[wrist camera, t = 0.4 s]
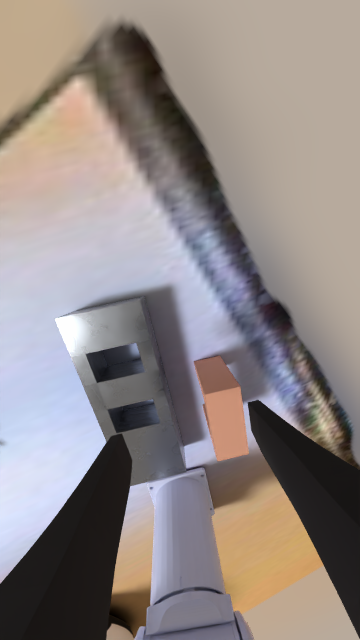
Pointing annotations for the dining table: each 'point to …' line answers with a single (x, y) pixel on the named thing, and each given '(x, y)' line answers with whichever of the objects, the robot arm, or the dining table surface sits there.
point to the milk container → (118, 630)
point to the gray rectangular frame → (127, 385)
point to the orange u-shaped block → (222, 408)
